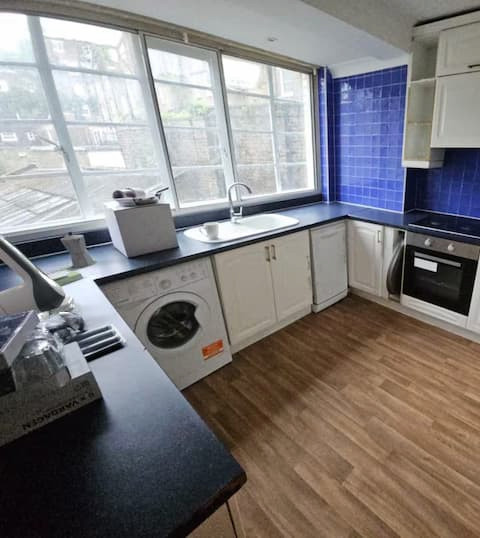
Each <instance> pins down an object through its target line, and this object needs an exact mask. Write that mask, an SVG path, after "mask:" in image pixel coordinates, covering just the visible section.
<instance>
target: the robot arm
mask: <svg viewBox="0 0 480 538" xmlns="http://www.w3.org/2000/svg"><path fill="white" fill-rule="evenodd" d="M0 260H1V261H2V262H3V263H4V264H6V265H7V266H8V267H9V268H10V269H11V270H12V271H13V272H14V273H15V274H17V276H19V277H20V278H21V279H22V280H23V283H20V284H19V285H14V286H13V287H9V288H7V289H4V290H1V291H0V317H3V316H8V315H13V314H18V313H22V312H28V311H31V310H35V311H36V313H37V315H38V317H39V319H40V321H41V323H44V321H45V319H47V318H48V316H50V315H52V314H55V313H59V312H70V313H72V312H73V311H74V310H75V309H76V306H77V303H76V301H75V298H74V297H73V296H66V293H65V290H64V289H63V287H62V285H58V284H57V283H56V282H55V281H53V280H52V279H51V278H49V277H48V276H47V273H45V272H44V271H43V270H41V269H40V268H39V267H38V266H37V265H36V264H35V263H34V262H33V261H32V260H31V259H30V258H29V257H28V256H26V254H24V253H23V252H22V250H20V249H19V248H18V247H17V246H16V245H14V244H13V242H12V241H10V240H9V239H8V238H6V237H5V236H4V235H2V234H1V233H0Z"/></svg>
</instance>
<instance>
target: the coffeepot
mask: <svg viewBox="0 0 480 538" xmlns="http://www.w3.org/2000/svg"><path fill="white" fill-rule="evenodd" d="M67 234H68V235H66V234H64V235H63V236H62V238H60V242H61V243H62V244H63V246H64V248H65V249H66V251H67V252H69V255H70V259H71V264H72V267H73V268H75V269H80V268H85V267H89V266H92V265H94V264H95V260H94V259H93V257H92V255H91V254H90V252H88V250H87V245H86V240H85V236H84V235H83V234H73V232H72V231H68V232H67Z"/></svg>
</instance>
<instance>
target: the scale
mask: <svg viewBox="0 0 480 538" xmlns="http://www.w3.org/2000/svg"><path fill="white" fill-rule="evenodd" d="M46 275H47V276H48V277H49V278H51V279H52V280H53V281H55V282H56V283H57V284H58V285H60V286H63V285H66V284H69V283H72V282H76V281H78V280H81V279H83V275H82V273H81V272H77V271H74V270H69V269H66V268H64V269H62V270H58V271H55V272H51V273H46Z"/></svg>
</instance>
